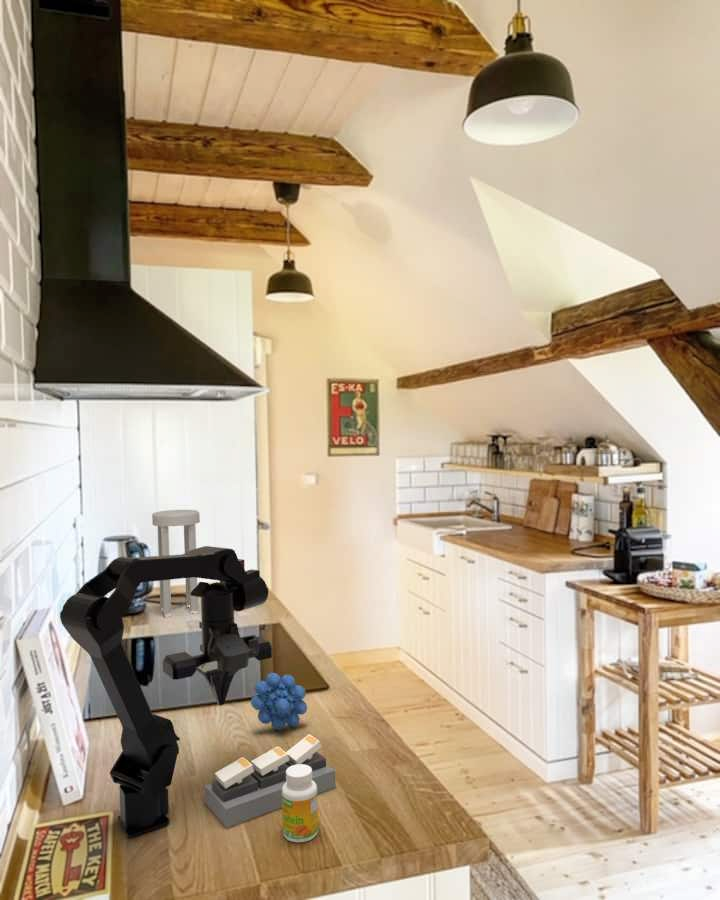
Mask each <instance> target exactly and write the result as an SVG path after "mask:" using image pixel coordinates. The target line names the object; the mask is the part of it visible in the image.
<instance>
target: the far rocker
mask: <svg viewBox="0 0 720 900" xmlns="http://www.w3.org/2000/svg"><path fill="white" fill-rule="evenodd" d="M322 747H323V746H322V743H321V741H320V740H319V739H317V738H315V737H314V736H312V735H311V734H310V733H309V734H307V735H306V736H305V737H303V738H301V740H299V741H298V742H297V743H296V744H295V745H292V747H291V748H289V749H288V750H287V751H285V752H286V753H287V754H288V757H289V759H290V760H291V761H292V762H294V763H295V764H302V763H303V762H304V761H305V760H306V759H308V760H310V759H311V758H312V755H313V754H314V753H315V752H318V751H319V750H320V749H321V748H322Z"/></svg>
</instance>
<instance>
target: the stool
mask: <svg viewBox="0 0 720 900" xmlns="http://www.w3.org/2000/svg"><path fill="white" fill-rule="evenodd" d="M200 516H201V515H200V512H199V511H198V510H196V509H171V510H161V511H160V510H159V511H157V512H153V513H151V517H152V525H153V526H155V527H157V543H158V544H157V549H158V556H167V555H170V538H169V537H170V536H169V534H170V532H169V531H170V530H169V527H181V526H182V527H183V536H184V537H183V541H184V542H183V543H184V544H183V545H184V546H183V547H184V554H185V553H188V552H189V551H191V550H193V549H197V537H196V535H197V534H196V533H197V532H196V524H198V523H200V521H201V520H200ZM197 585H198V578H196V577H191V578H185V601H186V603H185V604H187V605H190V608H189V610H191V611H198V612H199V599H198V598H199V597H195V596H191V592H192V590H193V589H194V588H195V587H196V586H197ZM171 592H172V591H171V580H161V581H159V600H160V601H159V604H160V606H159V607H161V608H163V610H164V611H163V615H164V614H169V613H171V614H172V598H171V595H172V594H171ZM191 611H190V612H191Z"/></svg>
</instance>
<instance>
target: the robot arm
mask: <svg viewBox="0 0 720 900" xmlns="http://www.w3.org/2000/svg"><path fill="white" fill-rule="evenodd" d="M238 559H239V558H238V555H237V553H236V550H234V549H233V548H228V547H227V548H226V547H220V546H219V547H218V546H209V545H204V546H201V547H196V549H193V550H191V551H189V552H188V553H185V552H184V553H182V554H171V555H170V554H169V555H167V556H159V555H155V556H153V555H152V556H139V557H138V556H137V557H127V556H118V557H117V558H114V559H113V560H112V561H111V562H110V563H109V564H108V565H107V566H106V568H105V569H103V571H101V572H99V573H98V574H97V575H96V576H94V577H92V578H90V579H89V580H88V581H86V582H85V583H84V584H83V585H82V586H81V587H80V588H79V590H78V591H77V592H76V593H74V594H73V595H71V596H70V597H69V598H68V599H66V601H65V602H64V603H63V606H62V609H61V611H60V613H59V618H60V622H61V624H62V626H63V627H64V629H65V630H66V632H67V633H68V635H70V637H71V638H72V640H73V641H75V642H76V644H78V646H79V647H81V648H82V649H83V650H84V651H85V652H86V653H87V654H88V655H89V657H90V659H91V661H92V664H93V665H94V668H95V670H96V672H97V674H98V676H99V678H100V680H101V683H102V685H103V687H104V689H105V691H106V693H107V696H108V698H109V700H110V703H111V704H112V707H113V709H114V711H115V714H116V715H117V718H118V719H119V722H120V724H121V727H122V730H121V737H120V746H121V749H122V751H121V753H120V755H119V756H118V757H117V759H116V761H115V763H114V764H113V766H112V767H111V769H110V771H109V775H110V777H111V781H112V782H113V783H114V784H117V785H119V789H118V790H119V811H120V812H119V814H120V815H118V816H117V817H116V818H117V822H118V824H119V825H120V827H121V829H122V830H123V832H124V833H125V835H126V837H127V838H133V837H136V836H139V835H141V834H145V833H147V832H148V833H149V832H150V831H153V830H154V831H155V830H157V829H160V828H161V827H165V826H168V825H169V824H170V822H171V821H170V819H169V817H168V815H169V813H170V809H169V808H170V806H169V804H170V803H169V789H168V788H167V787H169V786H171V785H172V780H173V776H174V773H175V772H174V771H175V769H176V768H175V767H176V763H177V759H178V755H179V753H180V747H179V744H178V743H179V742H178V741H180V740H181V738H180V737H179V736H178V735H177V733H176V732H175V728H174V724H173V722H172V720H171V719H169V718H166V717H164V716H161V715H158V714H154V713H153V712H152V710H151V709H152V708H151V707H150V705H149V702H148V700H147V698H146V696H145V693H144V691H143V689H142V686H141V684H140V682H139V679H138V677H137V674H136V672H135V671H134V668H133V665H132V662H131V661H130V658H129V657H128V656H129V655H127V652H126V650H125V647H124V645H123V637H124V631H125V624H124V619H123V616H124V614H125V613H126V612H127V611H128V609H129V608H130V607H131V605H132V604H133V600H134V598H135V595H136V590H137V588H138V587H139V586H140V584H141V583H149V582H160V581H161V580H170V581H171V580H179V579H186V578H191V577H196V578H197V579H203V580H204V579H206V580H212V581H213V580H214V581H216V582H213V583H209V582H204V581H199V582H197V586H196V587H195V588H194V589H193V590H192V592H191V596H195V597H198V598H200V606H201V607H200V613H201V615H200V616H201V621H200V622H199V623H198V624H199V625H198V627H199V629H200V630H201V640H202V644H200V645H199V649H200V651H201V652H202V653H201V654H197V655H193V656H192V655H190V654H189V653H188V652H187V651H182V652H177V653H173V654H166V655H165V657H164V658H163V661H162V671H163V673H164V674H166V675H167V676H168V677H169V678H171V679H172V680H175V681H177V680H181V679H185V678H190V677H193V676H194V675H195V673H196V672H198V673H199V674H201V675H202V676H203V677H205V680H206V681H207V684H208V686H209V687H210V690H211V692H212V695H213V696H214V698H215V701H216V704H217V705H218V706H223V705H225V703H226V699H227V696H228V693H229V690H230V687H231V684H232V681H233V678H234V676H235V675H236V674H237V672H239V670H242V669H245V668H247V667H248V666H249V660H250V659H252V658H253V659H256V661H264V660H269V659H272V658H273V657H274V652H273V650H274V648H273V645H272V643H271V642H270V641H268V640H267V639H264V638H263V637H261V636H259V635H258V636H256V634H251V635H246V636H242V637H241V635H240V633H239V627H238V623H235V612H242V611H245V610H248V609H252V608H254V607H255V608H256V607H258V606H261V605H263V604H265V603H266V602H267V600H268V596H269V587H268V586H267V583H266V581H265V579H263V578H262V576H260V570H258V569H247V570H246V569H245V567H244V568H243V566H242V565H241V563H240V562H239V560H238ZM244 569H245V570H244ZM217 581H218V582H217ZM220 581H225V585H224V584H222V583H220ZM112 591H113V592H112ZM111 592H112V593H111ZM109 593H111V594H110V596H109V597H108V596H107V595H108V594H109ZM106 596H107V597H106Z"/></svg>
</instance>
